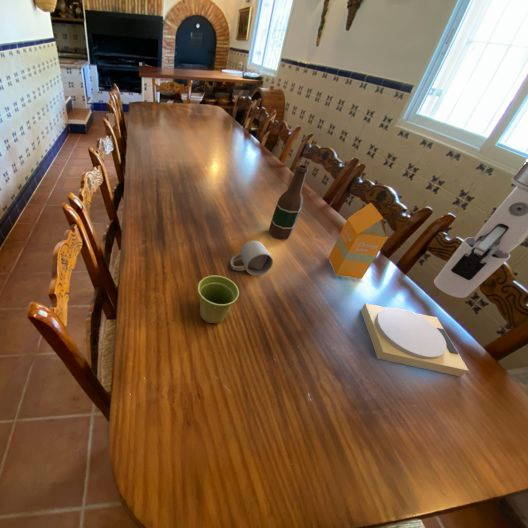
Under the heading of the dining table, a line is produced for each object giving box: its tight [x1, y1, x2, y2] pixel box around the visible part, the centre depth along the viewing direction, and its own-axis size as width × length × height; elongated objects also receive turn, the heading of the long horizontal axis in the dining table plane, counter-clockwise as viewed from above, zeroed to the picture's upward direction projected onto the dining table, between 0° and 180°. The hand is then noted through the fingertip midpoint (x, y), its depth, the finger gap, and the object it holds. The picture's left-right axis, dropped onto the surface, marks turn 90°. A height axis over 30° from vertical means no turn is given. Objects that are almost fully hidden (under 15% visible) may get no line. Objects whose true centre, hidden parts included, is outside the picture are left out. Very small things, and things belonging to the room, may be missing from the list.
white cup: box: [433, 236, 512, 299], centre depth 56 cm, size 7×7×10 cm
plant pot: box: [197, 274, 240, 324], centre depth 70 cm, size 9×9×9 cm
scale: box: [360, 302, 470, 378], centre depth 69 cm, size 17×15×4 cm
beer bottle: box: [268, 164, 309, 241], centre depth 95 cm, size 8×8×24 cm
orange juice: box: [328, 202, 388, 280], centre depth 84 cm, size 8×9×20 cm
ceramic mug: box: [229, 240, 274, 276], centre depth 85 cm, size 11×8×8 cm
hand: (467, 269), depth 56 cm, fingers closed on white cup, 5 cm apart
